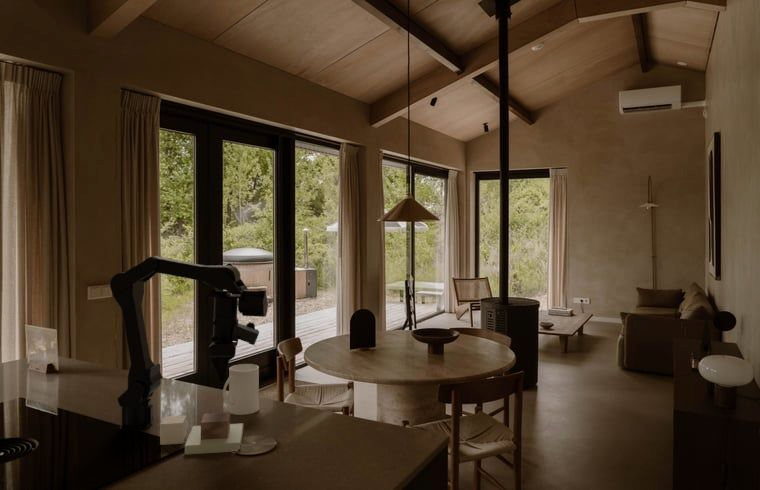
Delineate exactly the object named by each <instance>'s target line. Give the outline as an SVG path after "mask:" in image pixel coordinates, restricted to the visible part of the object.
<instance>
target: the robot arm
mask: <svg viewBox="0 0 760 490" xmlns="http://www.w3.org/2000/svg"><path fill="white" fill-rule="evenodd" d="M156 274H162V275H169V276H173V277H178V278H184V279H190V280H195V281H200V282H202V283H204V284H206V285H208V286H210V287H213V288H211V290H210V291H209V292H208V293H207V294H206V295H205V297H206V298H212V299H213V298H214V299H213V300H214V303H213V320H212V326H213V331H212V333H213V334H212V337H211V338H212V339H211V341H212V342H211V343H210V345H209V346H208V350H207V352H208V355H207V356H208V357H209V359H210V361H211V363H212V367H213V368H214V370H215V372H216V375H217V378H218V381H220V382H225V378H226V375H227V370H228V369H229V362H230V361H232V359H234V358H235V357H236V351H237V346H238V343H239V340H240V341H242V342H245V343H248V344H249V345H251V346H255V344H256V341H257V339H258V337H259V334H260V331H259V329H256V325H255V323H253V322H251V321H249V322H248V323H246V324H241V323H239V318H238V312H239V314H241V315H242V317H259V318H260V317H263V318H264V317H267V314H268V309H269V307H268V306H269V301H268V297H267V290H266V289H257V290H256V289H248V287H247V286H246V284H245V283H244V281H243V280H242V279H241V272H240V270H239V269H238V268H237V267H236V266H234V265H223V264H222V265H220V264H218V265H205V264H198V263H193V262H189V261H188V262H187V261H181V260H176V259H172V258H171V259H170V258H165V257H162V256H160V255H155V256H148V257H147V258H145V260H143V261H142V262H140V263H138V264H137V265H134V266H133V267H131V268H130V269H128V270H126V271H123V272H119V273H116V274H115V275H113V276H112V278H111V279H110V282H109V289H110V291H111V293H112V296H113V299H114V300H115V302H116V303H117V305H118V306H119V307H120V309H121V310H120V311H121V314H122V319H123V326H124V332H125V338H126V343H127V344H126V345H127V350H128V355H129V356H128V357H129V361H130V365H129V370H128V373H127V389H126V390H125V391H124V392H123V393H122V394H121V395H120V396H118V397H117V402H118V405H119V407H121V425H120V427H119V430H120V431H129V430H146V429H148V427H149V426H150V425H151V424H152V422H153V421H154V405H153V404H152V399H151V398H152V397H153V395H154V392H156V391H157V389H159V387H160V386H161V383H162V381H161V380H162V379H163V378H164V377H163V375H162V372H161V364H160V363H158V362H157V363H156V364H155V363H154V361H153V360H152V359H151V355H150V354H151V353H150V348H149V343H148V337H147V331H146V326H145V320H144V319H145V318H144V313H143V307H142V303H143V298H144V294H145V283H146V282H148V281H149V280H151V279H152V278H153V277H154V276H155V275H156Z"/></svg>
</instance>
